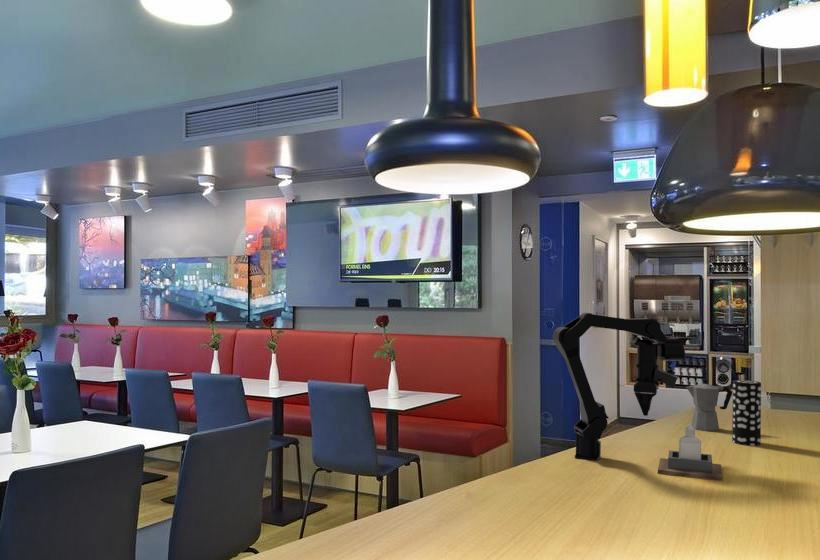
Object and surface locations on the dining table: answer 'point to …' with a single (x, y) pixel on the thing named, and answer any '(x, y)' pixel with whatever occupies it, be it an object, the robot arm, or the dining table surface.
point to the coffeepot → (707, 405)
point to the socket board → (714, 475)
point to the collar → (690, 463)
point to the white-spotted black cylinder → (746, 412)
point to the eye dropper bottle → (690, 445)
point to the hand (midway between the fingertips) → (646, 413)
